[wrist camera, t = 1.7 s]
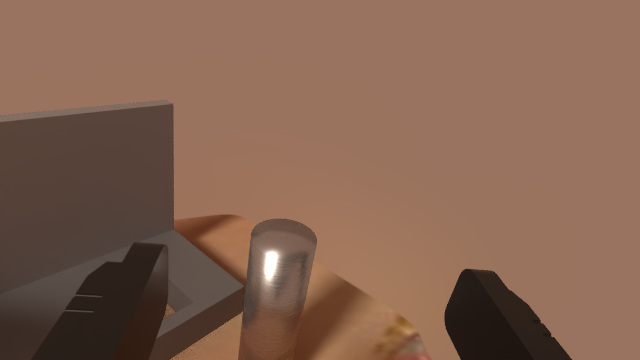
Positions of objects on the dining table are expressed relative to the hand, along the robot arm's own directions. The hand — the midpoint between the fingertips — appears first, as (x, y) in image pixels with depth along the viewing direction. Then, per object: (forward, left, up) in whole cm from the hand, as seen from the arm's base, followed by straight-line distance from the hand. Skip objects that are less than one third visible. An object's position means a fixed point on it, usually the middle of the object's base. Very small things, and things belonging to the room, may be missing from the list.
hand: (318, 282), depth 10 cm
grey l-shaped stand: (+20, -2, -19) cm, 28 cm away
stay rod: (+8, -8, -19) cm, 22 cm away
